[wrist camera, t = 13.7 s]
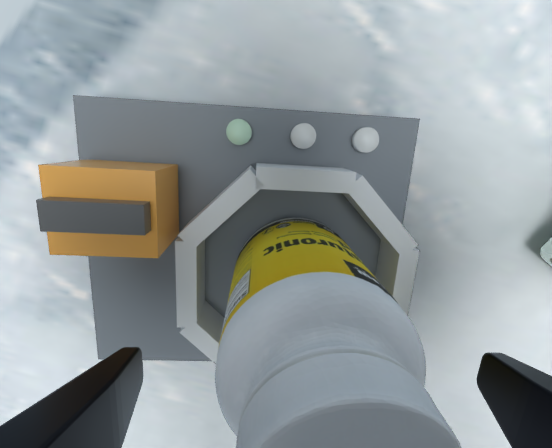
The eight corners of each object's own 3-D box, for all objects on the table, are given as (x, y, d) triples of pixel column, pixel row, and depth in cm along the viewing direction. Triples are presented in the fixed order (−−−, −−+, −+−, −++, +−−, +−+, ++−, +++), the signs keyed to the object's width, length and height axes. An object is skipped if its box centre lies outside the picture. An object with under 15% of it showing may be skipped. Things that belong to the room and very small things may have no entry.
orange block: (179, 233, 14) (152, 265, 10) (94, 230, 14) (37, 260, 10) (177, 164, 13) (148, 172, 10) (87, 159, 13) (24, 166, 9)
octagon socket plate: (366, 339, 18) (395, 393, 14) (116, 334, 17) (75, 390, 13) (399, 121, 15) (447, 114, 11) (98, 101, 14) (38, 86, 10)
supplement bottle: (369, 236, 14) (578, 418, 5) (323, 335, 16) (422, 633, 6) (257, 196, 14) (256, 320, 4) (218, 303, 15) (149, 584, 5)
